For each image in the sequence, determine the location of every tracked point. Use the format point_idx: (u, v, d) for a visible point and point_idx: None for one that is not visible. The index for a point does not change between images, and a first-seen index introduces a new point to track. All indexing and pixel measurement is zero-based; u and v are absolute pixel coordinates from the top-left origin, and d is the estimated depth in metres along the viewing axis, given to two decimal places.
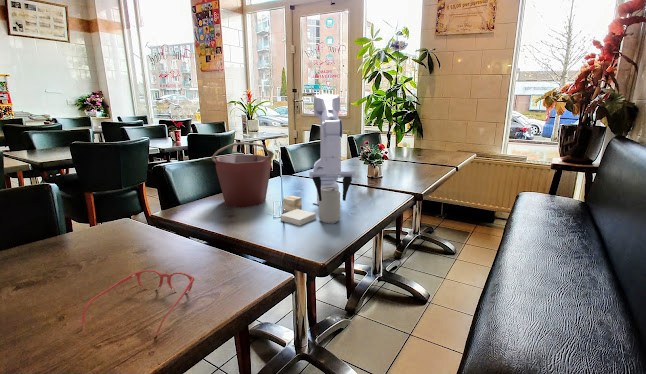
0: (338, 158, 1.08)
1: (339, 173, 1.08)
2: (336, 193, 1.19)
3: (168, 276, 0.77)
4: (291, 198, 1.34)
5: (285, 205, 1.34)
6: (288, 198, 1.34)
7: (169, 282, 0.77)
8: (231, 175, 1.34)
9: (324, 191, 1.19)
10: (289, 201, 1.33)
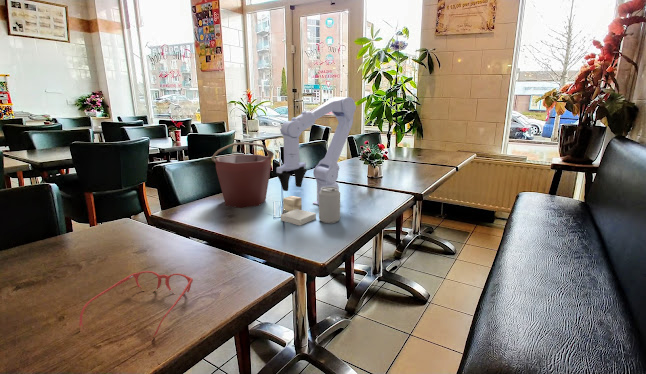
0: None
1: None
2: (336, 193, 1.19)
3: (166, 277, 0.77)
4: (291, 198, 1.34)
5: (285, 205, 1.34)
6: (288, 198, 1.34)
7: (167, 283, 0.77)
8: (231, 175, 1.34)
9: (324, 191, 1.19)
10: (289, 201, 1.33)
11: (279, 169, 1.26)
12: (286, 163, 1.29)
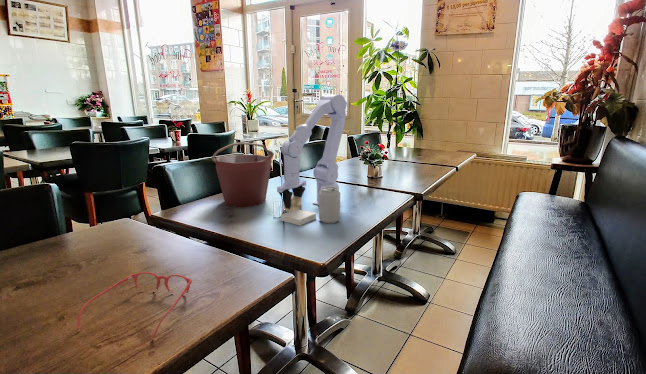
0: (284, 173, 1.32)
1: None
2: (336, 193, 1.19)
3: (165, 278, 0.76)
4: (291, 198, 1.34)
5: None
6: None
7: (166, 284, 0.77)
8: (231, 175, 1.34)
9: (324, 191, 1.19)
10: None
11: (280, 188, 1.28)
12: (286, 182, 1.31)
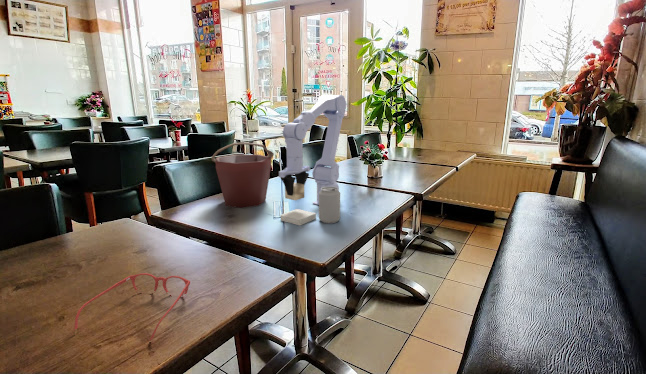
0: None
1: None
2: (336, 193, 1.19)
3: (163, 280, 0.76)
4: None
5: None
6: None
7: (164, 286, 0.76)
8: (231, 175, 1.34)
9: (324, 191, 1.19)
10: None
11: (281, 173, 1.19)
12: (289, 167, 1.23)
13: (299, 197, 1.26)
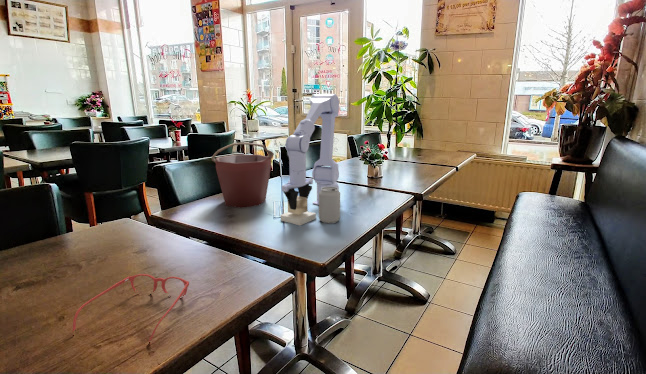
0: (289, 170, 1.21)
1: None
2: (336, 193, 1.19)
3: (162, 280, 0.76)
4: None
5: None
6: None
7: (163, 287, 0.76)
8: (231, 175, 1.34)
9: (324, 191, 1.19)
10: None
11: (284, 187, 1.16)
12: (292, 180, 1.20)
13: (302, 211, 1.23)
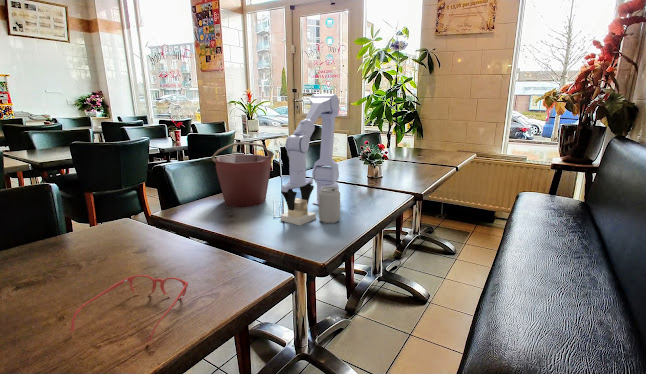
0: (289, 170, 1.21)
1: None
2: (336, 193, 1.19)
3: (161, 281, 0.75)
4: (296, 201, 1.23)
5: None
6: None
7: (162, 287, 0.75)
8: (231, 175, 1.34)
9: (324, 191, 1.19)
10: None
11: (284, 187, 1.16)
12: (292, 180, 1.20)
13: (302, 213, 1.23)
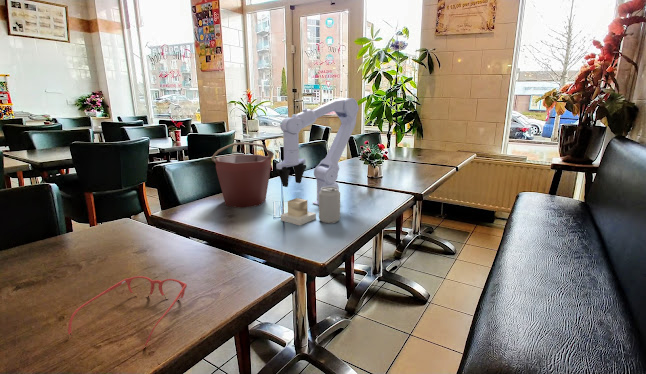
0: None
1: None
2: (336, 193, 1.19)
3: (159, 283, 0.75)
4: (296, 201, 1.23)
5: (290, 208, 1.23)
6: (293, 201, 1.23)
7: (160, 289, 0.75)
8: (231, 175, 1.34)
9: (324, 191, 1.19)
10: (294, 204, 1.21)
11: (279, 165, 1.27)
12: (286, 159, 1.30)
13: (302, 213, 1.23)
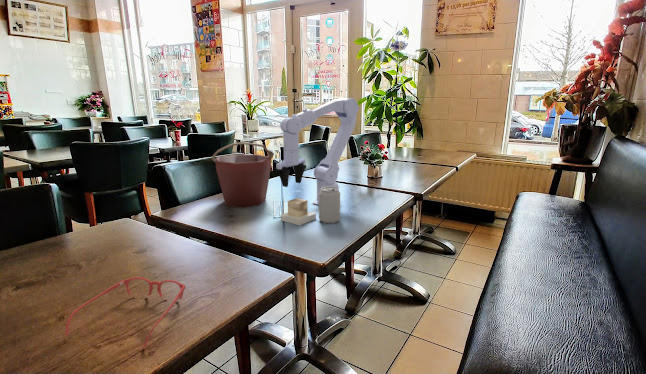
0: None
1: None
2: (336, 193, 1.19)
3: (158, 284, 0.74)
4: (296, 201, 1.23)
5: (290, 208, 1.23)
6: (293, 201, 1.23)
7: (159, 290, 0.74)
8: (231, 175, 1.34)
9: (324, 191, 1.19)
10: (294, 204, 1.21)
11: (279, 165, 1.27)
12: (286, 159, 1.30)
13: (302, 213, 1.23)
